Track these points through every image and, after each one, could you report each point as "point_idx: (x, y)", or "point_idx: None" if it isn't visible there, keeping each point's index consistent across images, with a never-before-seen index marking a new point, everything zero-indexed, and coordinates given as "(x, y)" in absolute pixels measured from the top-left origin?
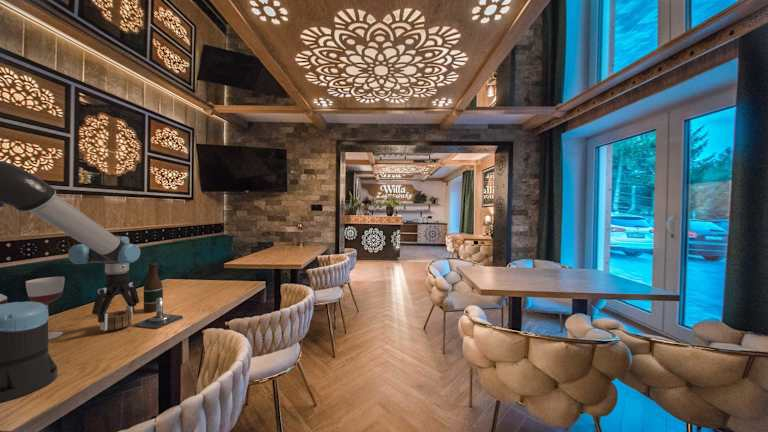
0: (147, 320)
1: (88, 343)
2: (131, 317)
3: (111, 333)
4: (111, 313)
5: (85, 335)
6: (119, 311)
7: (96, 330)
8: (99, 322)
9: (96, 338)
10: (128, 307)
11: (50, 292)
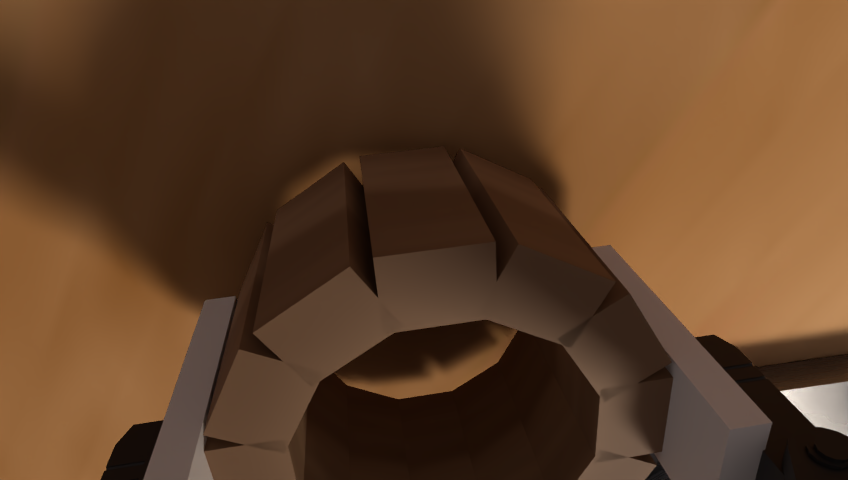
0: None
1: (11, 454)
2: None
3: None
4: (448, 314)
5: (76, 137)
6: (601, 315)
7: (260, 62)
8: (138, 443)
9: (121, 386)
10: (706, 475)
11: None
